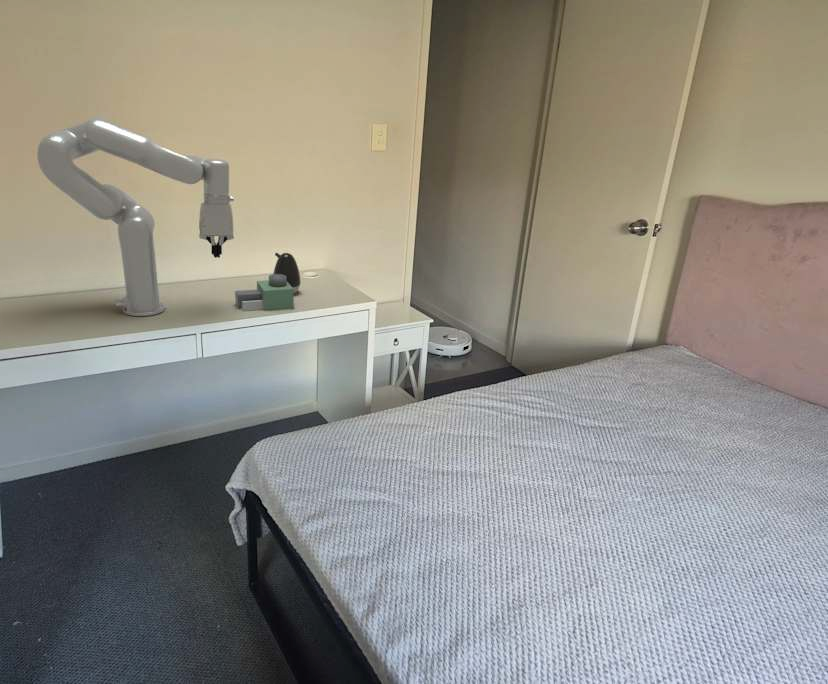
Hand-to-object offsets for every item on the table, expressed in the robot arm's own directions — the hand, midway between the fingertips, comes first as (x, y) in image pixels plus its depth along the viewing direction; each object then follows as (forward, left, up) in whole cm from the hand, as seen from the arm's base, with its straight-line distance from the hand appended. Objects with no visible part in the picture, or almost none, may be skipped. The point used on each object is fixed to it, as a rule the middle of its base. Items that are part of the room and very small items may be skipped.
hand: (216, 256), depth 194 cm
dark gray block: (+10, 0, -18) cm, 21 cm away
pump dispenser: (+26, +12, -18) cm, 34 cm away
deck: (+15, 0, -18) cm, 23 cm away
